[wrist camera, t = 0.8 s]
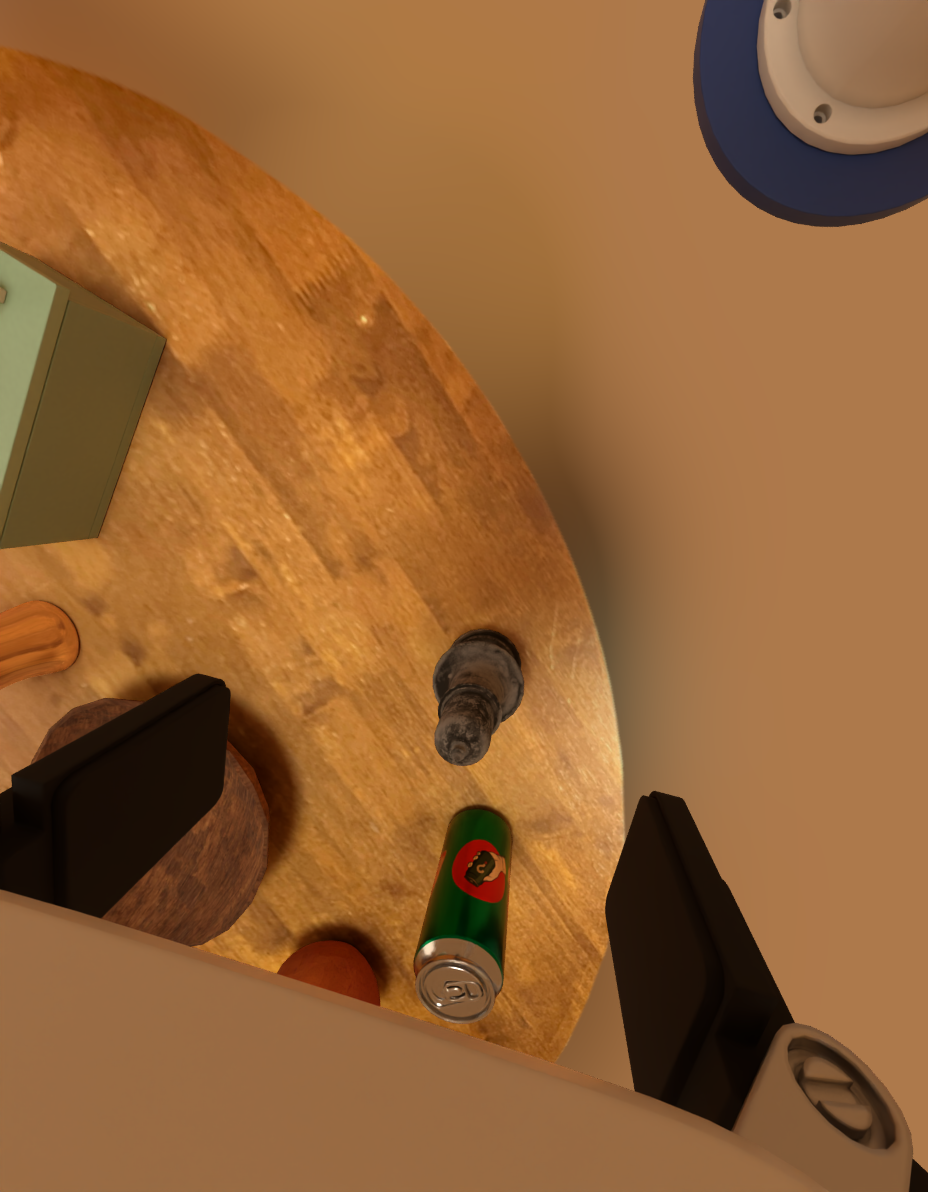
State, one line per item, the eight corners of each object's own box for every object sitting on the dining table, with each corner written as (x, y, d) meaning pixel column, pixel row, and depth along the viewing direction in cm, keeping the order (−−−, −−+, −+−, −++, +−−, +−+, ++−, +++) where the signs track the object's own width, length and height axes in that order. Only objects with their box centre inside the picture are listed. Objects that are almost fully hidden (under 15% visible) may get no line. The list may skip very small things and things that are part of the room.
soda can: (439, 810, 37) (395, 960, 25) (501, 798, 35) (485, 949, 24) (459, 864, 37) (426, 1033, 26) (520, 854, 36) (514, 1026, 25)
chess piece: (542, 675, 33) (545, 779, 21) (474, 717, 34) (444, 834, 23) (492, 608, 32) (468, 677, 21) (426, 653, 34) (370, 740, 22)
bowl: (343, 761, 37) (314, 803, 32) (233, 934, 43) (195, 991, 38) (133, 626, 37) (72, 647, 32) (52, 817, 43) (-9, 859, 38)
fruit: (276, 933, 42) (218, 1033, 34) (360, 909, 40) (318, 1010, 32) (323, 1009, 43) (277, 1122, 35) (406, 989, 41) (376, 1105, 33)
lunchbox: (33, 256, 31) (-99, 195, 25) (166, 339, 31) (69, 300, 25) (-21, 464, 36) (-146, 459, 29) (97, 538, 36) (-2, 549, 29)
